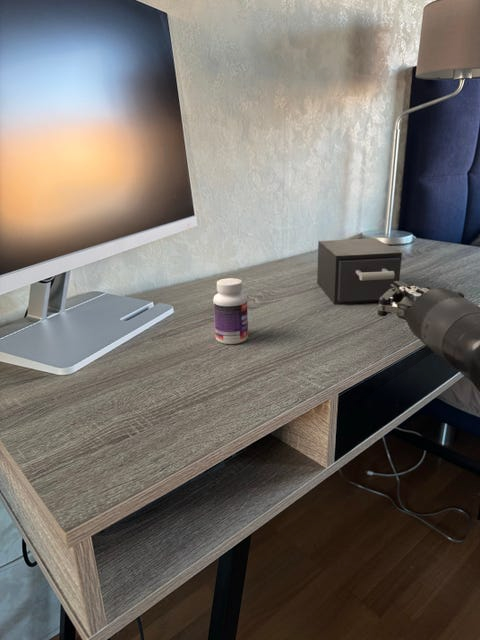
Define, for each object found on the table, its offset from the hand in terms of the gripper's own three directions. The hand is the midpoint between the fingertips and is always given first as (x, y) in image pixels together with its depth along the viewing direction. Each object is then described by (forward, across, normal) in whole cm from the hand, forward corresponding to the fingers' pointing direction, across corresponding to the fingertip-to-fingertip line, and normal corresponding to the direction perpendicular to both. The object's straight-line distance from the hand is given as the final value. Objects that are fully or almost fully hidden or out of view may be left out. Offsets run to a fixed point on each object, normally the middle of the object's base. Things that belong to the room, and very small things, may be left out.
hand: (396, 286), depth 72 cm
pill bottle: (0, -27, -8) cm, 28 cm away
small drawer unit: (+21, 0, -7) cm, 22 cm away
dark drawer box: (+17, 0, -6) cm, 18 cm away
